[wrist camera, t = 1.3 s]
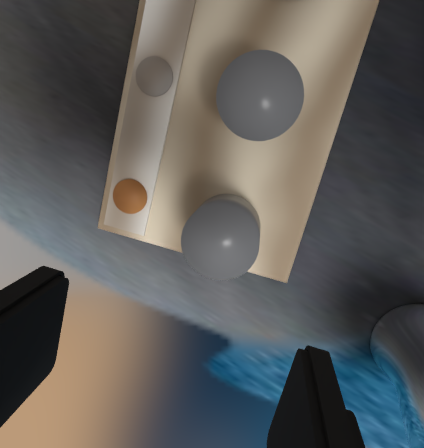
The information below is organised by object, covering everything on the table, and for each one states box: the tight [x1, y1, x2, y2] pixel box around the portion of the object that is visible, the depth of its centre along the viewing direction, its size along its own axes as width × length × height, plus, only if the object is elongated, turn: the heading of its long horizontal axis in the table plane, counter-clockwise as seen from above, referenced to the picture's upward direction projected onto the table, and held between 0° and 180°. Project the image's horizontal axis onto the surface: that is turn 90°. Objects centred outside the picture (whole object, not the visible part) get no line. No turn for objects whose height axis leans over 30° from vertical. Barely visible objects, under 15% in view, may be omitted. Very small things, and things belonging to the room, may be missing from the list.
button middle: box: [216, 50, 304, 141], centre depth 21 cm, size 4×4×4 cm
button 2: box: [181, 194, 261, 281], centre depth 23 cm, size 4×4×4 cm
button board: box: [98, 0, 379, 283], centre depth 25 cm, size 14×22×2 cm, turn 165°
